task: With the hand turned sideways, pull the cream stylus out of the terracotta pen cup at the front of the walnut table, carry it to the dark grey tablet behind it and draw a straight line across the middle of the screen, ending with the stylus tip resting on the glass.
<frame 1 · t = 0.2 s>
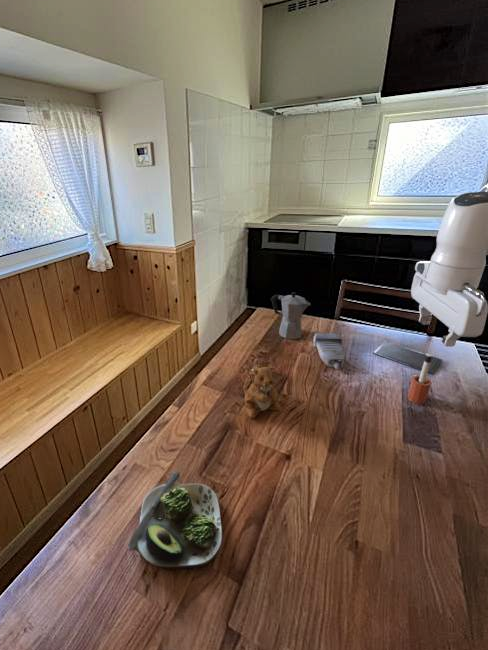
hand: (435, 333, 75), 29 cm above the table, tool pointing down, fingers open, 8 cm apart
stylus: (416, 398, 97), resting on pen cup
salad plate: (178, 528, 67), on the table
pen cup: (416, 400, 97), on the table
tablet: (406, 358, 116), on the table
stuffed squirrel: (258, 402, 100), on the table
handheld device: (330, 356, 119), on the table
coffeepot: (287, 333, 135), on the table
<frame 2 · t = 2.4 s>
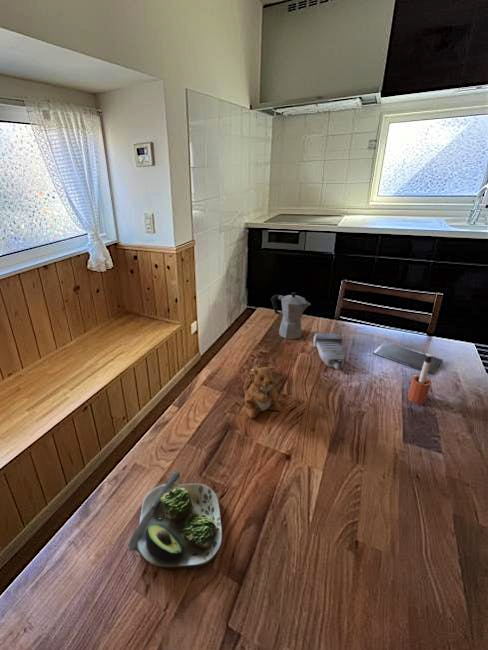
nothing on the table moved.
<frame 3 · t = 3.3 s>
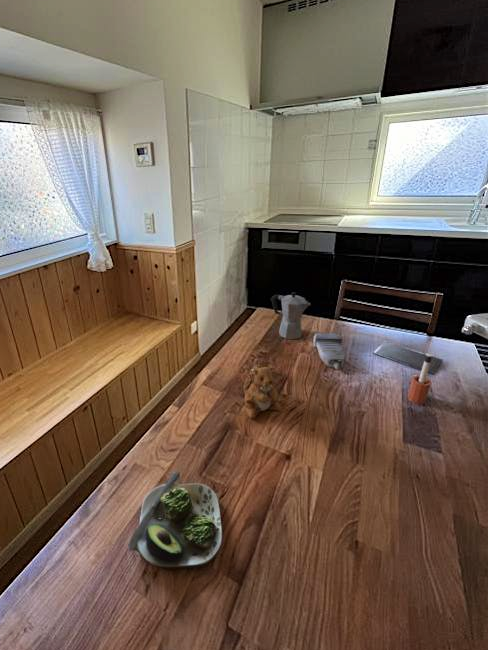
hand: (479, 338, 88), 20 cm above the table, tool horizontal, fingers open, 8 cm apart
nothing on the table moved.
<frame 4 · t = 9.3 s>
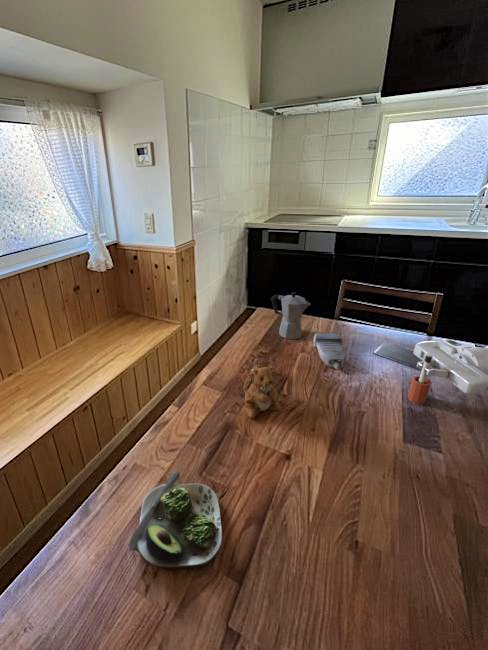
hand: (422, 368, 92), 11 cm above the table, tool horizontal, fingers closed on stylus, 1 cm apart
stylus: (416, 398, 97), resting on pen cup, touching gripper
everything else where it was.
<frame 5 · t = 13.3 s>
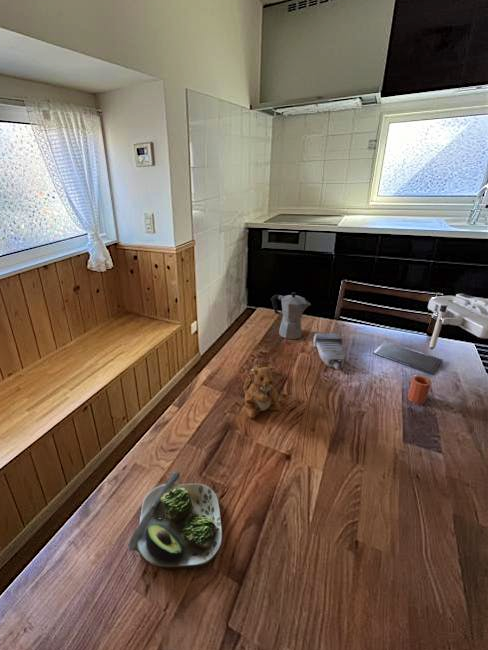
hand: (437, 318, 97), 21 cm above the table, tool horizontal, fingers closed on stylus
stylus: (431, 349, 101), point 10 cm above the table, touching gripper
everything else where it was.
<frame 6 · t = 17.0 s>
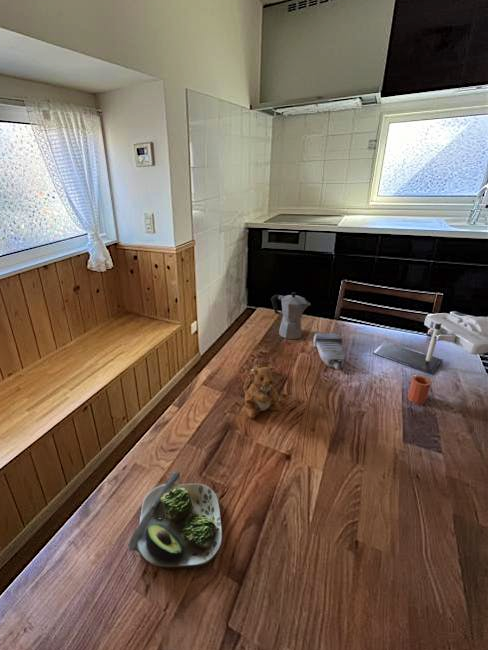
hand: (432, 335, 107), 12 cm above the table, tool horizontal, fingers closed on stylus, 1 cm apart
stylus: (427, 362, 111), point 1 cm above the table, touching gripper
everything else where it was.
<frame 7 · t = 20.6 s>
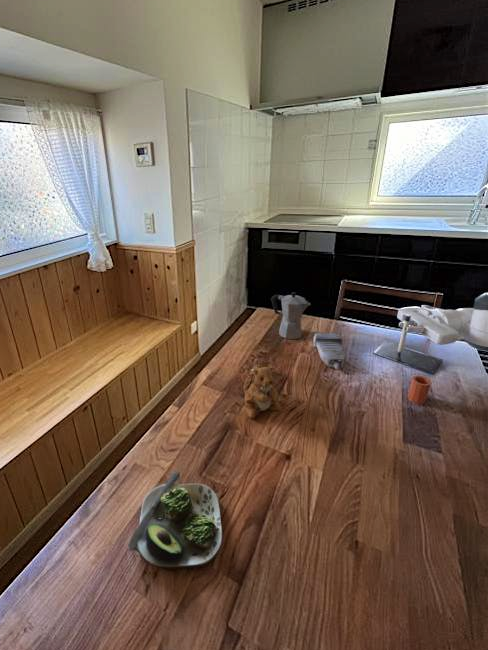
hand: (403, 327, 112), 12 cm above the table, tool horizontal, fingers closed on stylus, 1 cm apart
stylus: (399, 353, 117), point 1 cm above the table, touching gripper, tablet
everything else where it was.
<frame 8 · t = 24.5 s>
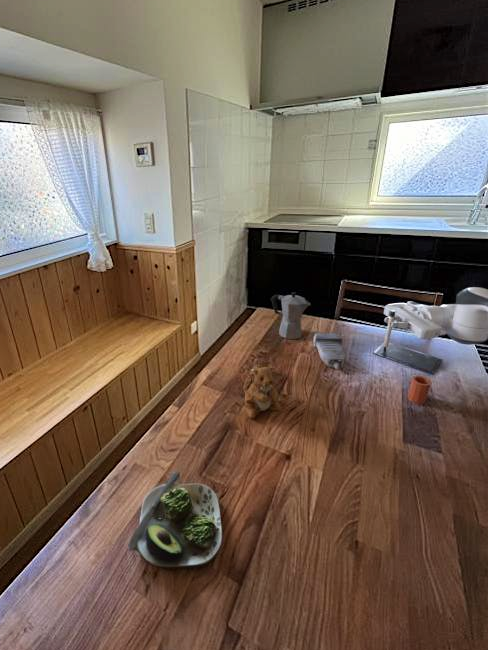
hand: (388, 322, 116), 12 cm above the table, tool horizontal, fingers closed on stylus, 1 cm apart
stylus: (385, 348, 120), point 1 cm above the table, touching gripper, tablet
everything else where it was.
at the end: the gripper is holding stylus; stylus touching gripper, tablet; stylus inside the target area on the tablet (0.9 cm from its centre), point 1.0 cm above the tablet's base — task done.
